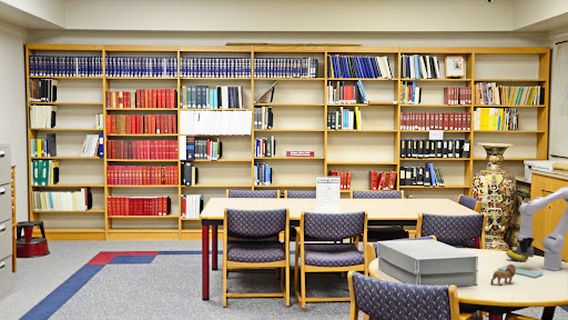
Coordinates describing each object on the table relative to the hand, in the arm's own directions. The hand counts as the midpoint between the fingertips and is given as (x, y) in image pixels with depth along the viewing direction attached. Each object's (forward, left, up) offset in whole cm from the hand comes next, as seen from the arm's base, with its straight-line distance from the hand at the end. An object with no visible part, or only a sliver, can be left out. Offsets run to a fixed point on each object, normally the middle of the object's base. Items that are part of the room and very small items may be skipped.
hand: (525, 252), depth 283 cm
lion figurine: (+33, +4, -9) cm, 35 cm away
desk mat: (+9, +1, -9) cm, 12 cm away
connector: (0, 0, -2) cm, 2 cm away
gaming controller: (-17, -11, -9) cm, 23 cm away
